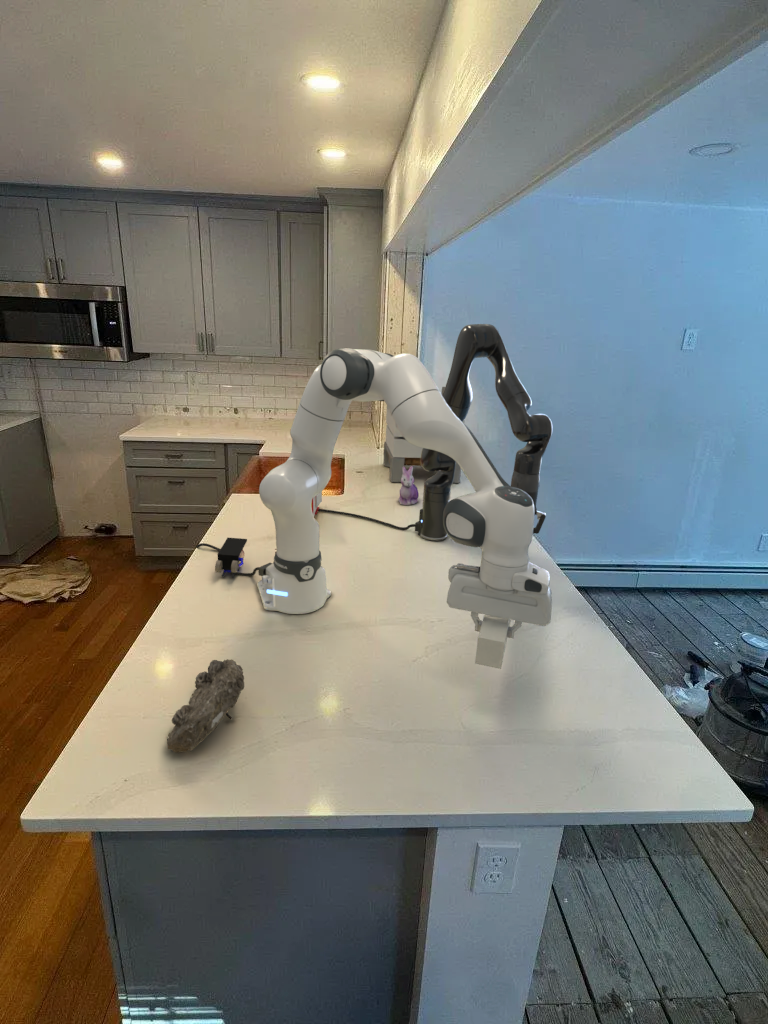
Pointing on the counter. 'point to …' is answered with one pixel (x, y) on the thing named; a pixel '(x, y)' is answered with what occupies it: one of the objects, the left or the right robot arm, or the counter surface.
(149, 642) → the counter surface
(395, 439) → the grey wooden crate
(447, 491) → the right robot arm
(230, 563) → the black wheeled block
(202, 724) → the fossil
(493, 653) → the beam
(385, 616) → the counter surface
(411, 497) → the figurine
